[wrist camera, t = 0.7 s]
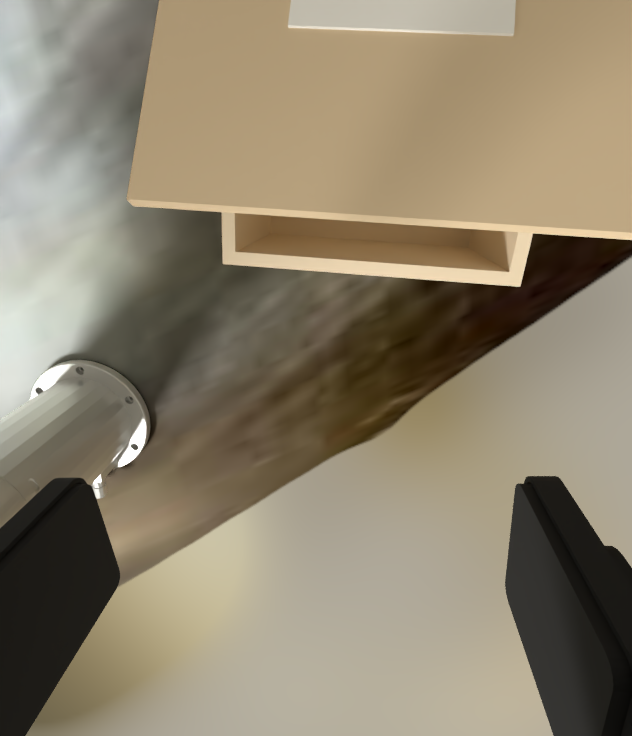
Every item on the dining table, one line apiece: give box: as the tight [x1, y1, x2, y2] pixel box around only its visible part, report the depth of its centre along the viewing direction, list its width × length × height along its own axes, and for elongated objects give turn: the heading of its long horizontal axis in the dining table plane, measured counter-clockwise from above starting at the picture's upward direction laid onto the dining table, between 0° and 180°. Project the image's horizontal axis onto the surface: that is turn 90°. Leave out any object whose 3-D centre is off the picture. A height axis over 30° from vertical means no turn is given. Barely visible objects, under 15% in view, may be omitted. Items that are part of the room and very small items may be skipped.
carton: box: [222, 212, 533, 287], centre depth 28 cm, size 22×18×12 cm
